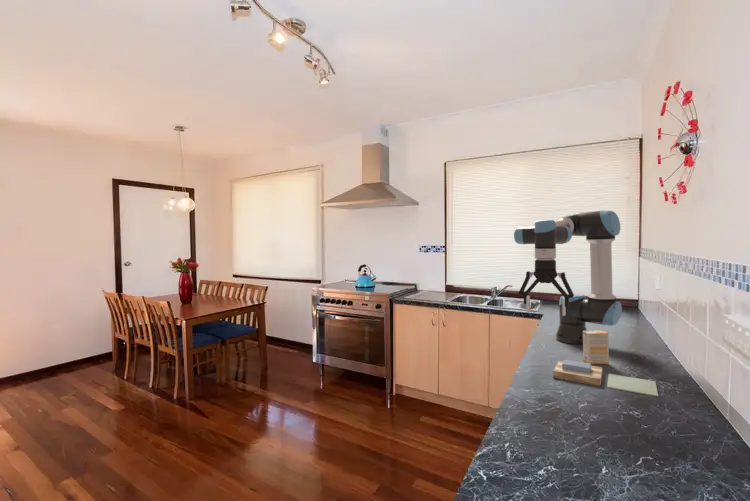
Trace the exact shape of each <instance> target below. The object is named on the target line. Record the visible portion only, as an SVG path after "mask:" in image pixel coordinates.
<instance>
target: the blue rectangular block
mask: <svg viewBox="0 0 750 501" xmlns="http://www.w3.org/2000/svg"><path fill="white" fill-rule="evenodd" d="M562 361H563V363H562V369H565V370H571V371H577V372H583V373H589V374H590V371H591V366H592V364H591V363H586V362H585V361H583V362H582V361H578V360H571V359H563V360H562Z"/></svg>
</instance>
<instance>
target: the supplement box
mask: <svg viewBox="0 0 750 501" xmlns="http://www.w3.org/2000/svg"><path fill="white" fill-rule="evenodd" d="M609 338H610V337H609V332H607V331H605V330H587V331H583V344H582V351H583V352H582V356H583V357H582V358H583V360H582V361H583V362H585V363H591V365H610V364H609V363H610V351H609V348H610V347H609V344H610V343H609V341H610V340H609Z"/></svg>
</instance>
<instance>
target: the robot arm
mask: <svg viewBox="0 0 750 501" xmlns="http://www.w3.org/2000/svg"><path fill="white" fill-rule="evenodd" d="M620 232H621V222H620V218H619V216H618V215H617V213H616V212H615V211H613V210H598V211H597V210H596V211H586V212H583V211H581V212H577V213H571V214H568V215H566V216H565V215H564V216H560V217H559V218H557V219H556V220H553V219H542V220H537V221H535V222H534V225H532V226H523V227H517V228H516V229H515V230H514V233H513V238H514V241H515V243H516V244H518V245H534V259H535V260H534V271H527V272H525V273H526V274H525V278H524V280H523V283H522V285H521V287H520V289H519V291H518V294H519V295H521V296H523V304H524V305H526V306H525V308H526V313H529V314H530V312H531V297H530V296H531V295H529V294H530V292H532V290H533V289H534V288H535V287H536V286H537V285H538V283H540V284H544V283H545V284H552V285H553V286H554V288H556V290H557V291H558V292H559V293H560V294H561V296H560V297H559V304H558V306H559V308H558V310H559V312H558V313H559V315H558V316H559V324H558V326H557V327H558V328H557V331H556V333H555V340H557V341H559V342H561V343H564V344H565V343H566V344H571V345H583V331H588V329H587V327H586V323H589V324H596V325H602V326H609V327H610V326H611V327H614V326H616V325H617V324H618V323H619V322H620V319H621V317H622V311H623V306H622V303H621V302H620V301H619V300H618V301H617V296H616V295H615V294H613V264H612V261H613V259H612V253H613V252H612V243H613V242H614V241H615V240H616V236H618V235H619V234H620ZM573 236H574V237H585V240H586V241H587V242H588V243H589V251H590V252H589V255H590V256H589V259H590V262H589V263H590V293H589V294H588V295H587V296H586V295H585V294H574V291H573V290H572V287H571V286H570V283H569V282H568V279H567V278H566V273H565V272H564V271H563V272H557V260H555V259H557V247H556V245H563V244H567V243H569V242H570V241H571V239H572V237H573ZM533 276H534V278H535V280H534V281H533V282H532V283H531V284H530V286H529V287H528V288H527V290H526V287H527V286H528V284H529V281H530V278H532V277H533ZM557 277H558V278H559V279H561V282H562V283H563V285H564V287H565V290H566V291H567V292H566V291H565V290H564V288H563V287H562V286H561V285H560V283H559V282H558V281H557V280H556V278H557ZM525 290H526V291H525ZM567 293H568V294H567Z"/></svg>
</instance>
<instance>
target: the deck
mask: <svg viewBox="0 0 750 501" xmlns="http://www.w3.org/2000/svg"><path fill="white" fill-rule="evenodd" d="M563 361H564V360H558V362H557V363H556V365H555V367H554V369H553V370H552V378H553V379H559V380H563V379H565V381H569V382H570V381H571V382H576V383H581V384H586V385H592V386H597V387H601V384H602V378H603V367H602V366H598V365H591V371H590V374H589V373H583V372H577V371H571V370H565V369H562V363H563Z"/></svg>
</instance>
